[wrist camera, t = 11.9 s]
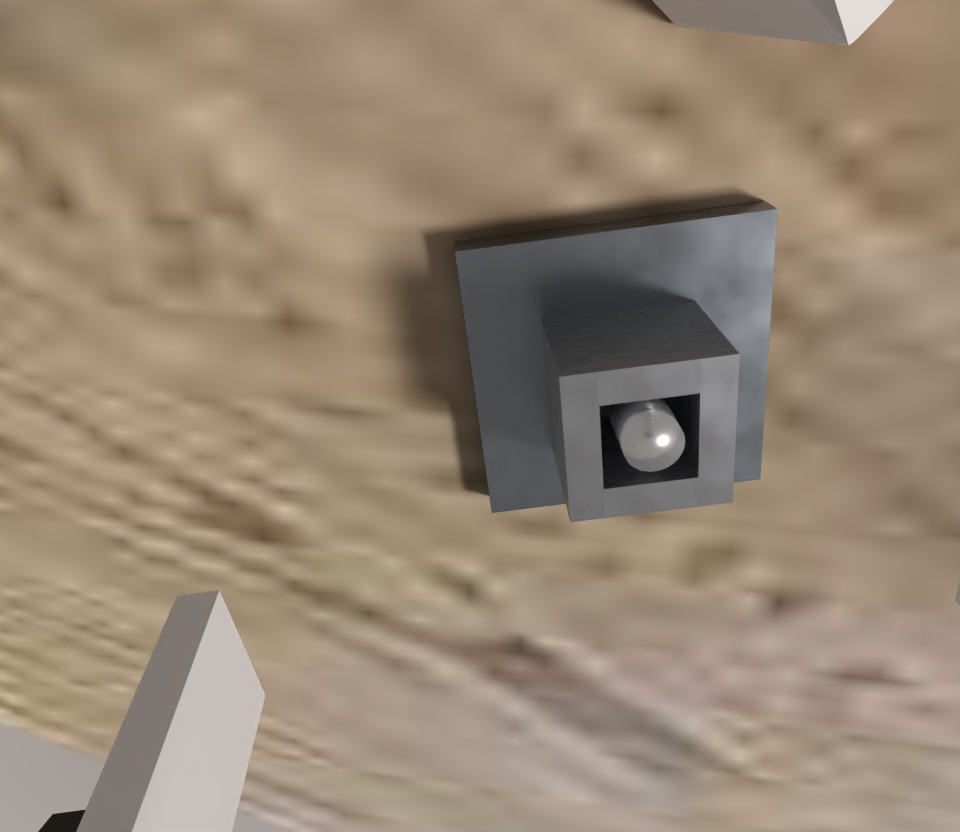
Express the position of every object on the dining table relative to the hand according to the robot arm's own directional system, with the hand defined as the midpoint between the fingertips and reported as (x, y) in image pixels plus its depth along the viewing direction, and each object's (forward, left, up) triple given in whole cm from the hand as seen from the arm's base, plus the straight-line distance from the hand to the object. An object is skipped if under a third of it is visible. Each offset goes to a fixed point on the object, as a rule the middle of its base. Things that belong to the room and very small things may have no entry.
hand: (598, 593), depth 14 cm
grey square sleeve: (+7, +5, -22) cm, 24 cm away
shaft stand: (+7, +5, -24) cm, 25 cm away
